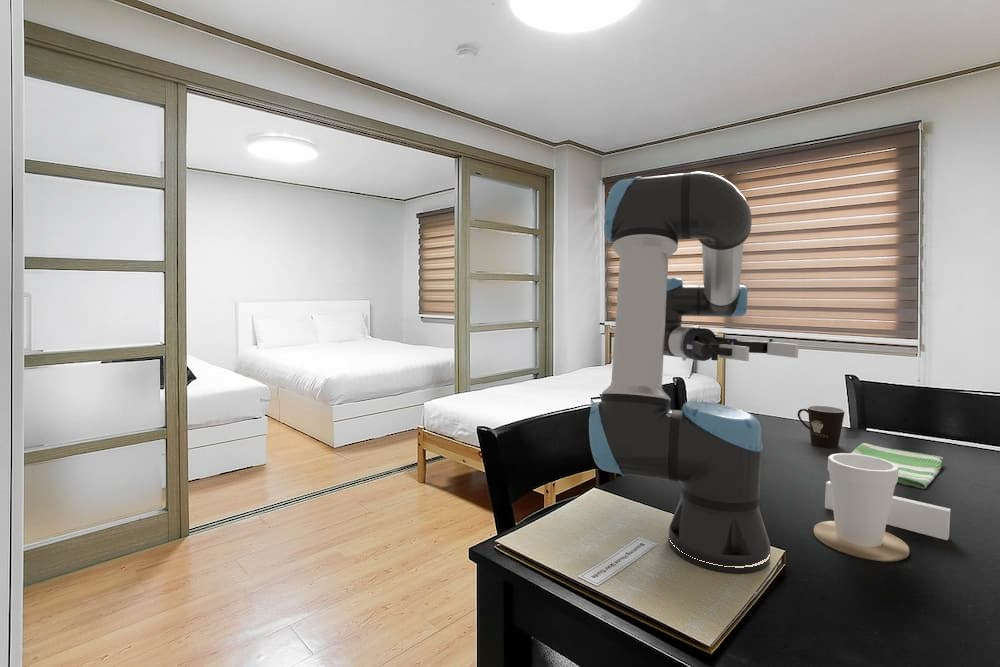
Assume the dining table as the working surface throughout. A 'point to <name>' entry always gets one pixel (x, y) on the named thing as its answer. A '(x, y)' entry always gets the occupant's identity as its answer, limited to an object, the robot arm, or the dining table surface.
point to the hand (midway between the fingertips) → (773, 352)
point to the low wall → (912, 515)
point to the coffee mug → (824, 425)
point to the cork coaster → (887, 551)
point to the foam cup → (861, 496)
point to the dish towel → (906, 463)
